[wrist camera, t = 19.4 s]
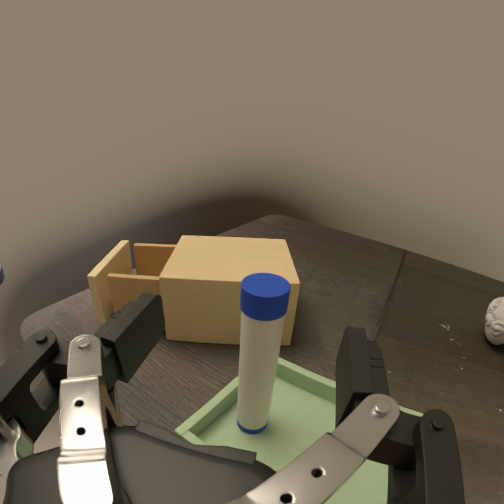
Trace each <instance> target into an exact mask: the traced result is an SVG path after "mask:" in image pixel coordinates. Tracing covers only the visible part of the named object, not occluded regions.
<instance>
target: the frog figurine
mask: <svg viewBox="0 0 504 504" xmlns="http://www.w3.org/2000/svg"><path fill="white" fill-rule="evenodd" d="M486 321H487V322H486V324H485V334H486V337H487V339H488V341H489V342H490V343H492V344H494V345H501V344H503V343H504V297H502V298H501V297H498V298H496V299H494V300H493V301H492V302H491V304H490V305H489V307H488V310H487V315H486Z"/></svg>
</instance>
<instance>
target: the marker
mask: <svg viewBox="0 0 504 504" xmlns="http://www.w3.org/2000/svg"><path fill="white" fill-rule="evenodd" d="M290 288H291V286H290V283H289V282H288V281H287V280H286V279H285V278H283V277H281V276H279V275H276V274H271V273H254V274H250V275H248V276H246V277H244V278H243V280H242V281H241V293H240V309H241V333H240V357H239V382H238V408H237V425H238V427H239V429H240V430H242V431H243V432H245V433H248V434H258V433H260V432H262V431H263V430H265V428H266V427H267V423H268V417H269V411H270V406H271V400H272V394H273V389H274V383H275V377H276V371H277V365H278V358H279V352H280V346H281V339H282V332H283V326H284V319H285V314H286V312H287V310H288V303H289V296H290Z"/></svg>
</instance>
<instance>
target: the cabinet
mask: <svg viewBox="0 0 504 504" xmlns="http://www.w3.org/2000/svg"><path fill="white" fill-rule="evenodd" d="M254 273H271V274H276V275H279V276H281V277H283V278H285V279H286V280H287V281H288V282H289V283H290V286H291V288H290V296H289V303H288V310H287V312H286V314H285V319H284V326H283V332H282V339H281V346H289V345H290V342H291V337H292V331H293V325H294V319H295V313H296V307H297V300H298V294H299V287H300V282H299V279H298V276H297V273H296V270H295V267H294V264H293V261H292V258H291V255H290V252H289V249H288V246H287V243H286V240H281V239H260V238H238V237H214V236H187V235H183V236H182V237H181V239H180V240H179V242H178V244H177V246H176V247H175V249H174V251H173V253H172V254H171V256H170V258H169V260H168V261H167V263H166V265H165V267H164V269H163V270H162V272H161V274H160V276H159V284H160V293H161V297H162V303H163V311H164V318H165V332H166V338H167V340H175V341H187V342H200V343H216V344H237V345H240V333H241V309H240V293H241V281H242V280H243V278H244V277H246V276H248V275H250V274H254Z"/></svg>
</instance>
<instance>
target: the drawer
mask: <svg viewBox="0 0 504 504" xmlns="http://www.w3.org/2000/svg"><path fill="white" fill-rule="evenodd" d="M133 246H134V254H135V263H136V271H137V275H133V271H132V264H131V255H130V247H129V241H128V240H122V241H121V242H120V243H119V244H118V245H117V246H116V247H115V248H114V249H113V250H112V251H111V252H110V253H109V254H108V255H107V256H106V257H105V258H104V259H103V260H102V261H101V262H100V263H99V264H98V265H97V266H96V267H95V268H94V269H93V270H92V271H91V272H90V273H89V274H88V275H87V277H88V282H89V286H90V291H91V295H92V299H93V304H94V307H95V311H96V315H97V319H98V322H99V323H103V324H105V323H106V322H107V321H108V320H109V319H110V317H111V316H112V314H113V312H114V313H117V311H118V310H119V309H120V308H121V307H122V306H123V305H124V304H126V303H128V302H130V301H132V300H136V299H137V298H138V297H139V296H140V295H141V294H142V293H143V292H148V293H153V294H157V295H160V296H161V293H160V284H159V276H160V274H161V272H162V270H163V269H164V267H165V265H166V263H167V261H168V260H169V258H170V256H171V254H172V253H173V251H174V249H175V247H176V246H177V245H165V244H141V243H135V244H134V245H133Z"/></svg>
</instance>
